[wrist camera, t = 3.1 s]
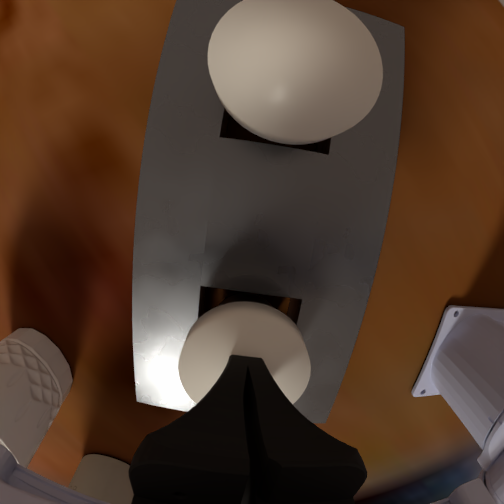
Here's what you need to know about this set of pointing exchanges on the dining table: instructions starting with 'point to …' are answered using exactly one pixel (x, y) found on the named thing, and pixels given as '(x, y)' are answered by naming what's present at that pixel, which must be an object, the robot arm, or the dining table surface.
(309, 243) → the knob mount
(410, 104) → the dining table surface
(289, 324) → the knob
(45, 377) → the white cup
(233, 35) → the knob
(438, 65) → the dining table surface
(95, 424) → the dining table surface
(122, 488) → the travel mug
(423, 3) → the dining table surface
